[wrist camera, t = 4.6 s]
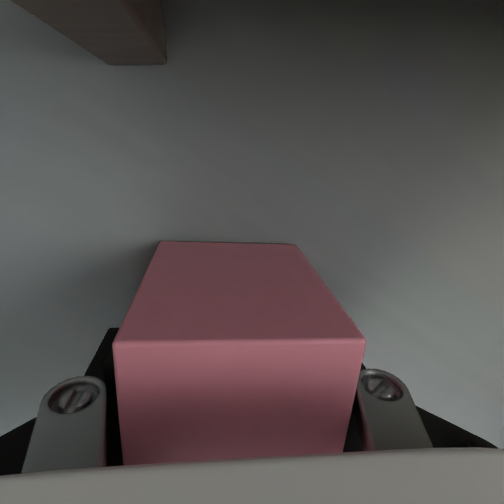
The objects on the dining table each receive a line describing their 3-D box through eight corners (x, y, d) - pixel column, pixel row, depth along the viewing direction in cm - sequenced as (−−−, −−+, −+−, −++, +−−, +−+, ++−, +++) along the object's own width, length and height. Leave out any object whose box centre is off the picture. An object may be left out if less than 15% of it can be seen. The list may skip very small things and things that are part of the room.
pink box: (164, 395, 13) (131, 574, 8) (159, 240, 11) (110, 343, 6) (279, 391, 13) (321, 555, 8) (296, 243, 11) (369, 340, 6)
